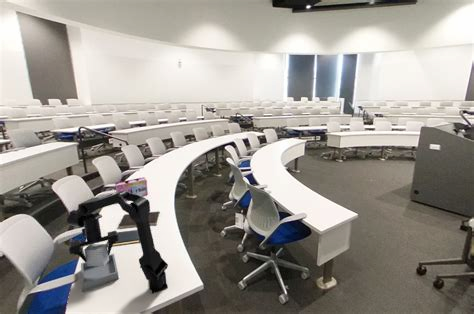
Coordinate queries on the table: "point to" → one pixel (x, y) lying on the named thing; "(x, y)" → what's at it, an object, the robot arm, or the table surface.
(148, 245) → the robot arm
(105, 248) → the medicine box
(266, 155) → the table surface
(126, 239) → the dark gray book
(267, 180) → the table surface
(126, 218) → the hardcover book
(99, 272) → the bin
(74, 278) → the table surface
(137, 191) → the gum box
